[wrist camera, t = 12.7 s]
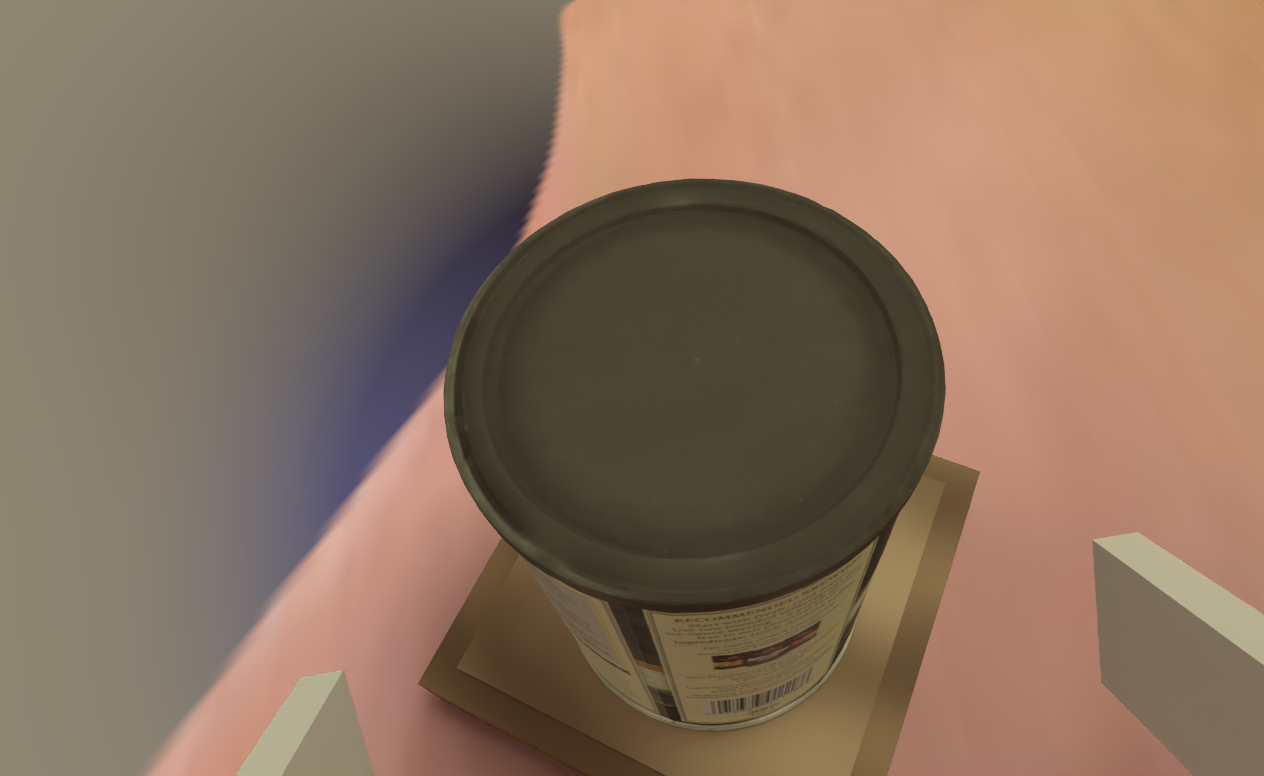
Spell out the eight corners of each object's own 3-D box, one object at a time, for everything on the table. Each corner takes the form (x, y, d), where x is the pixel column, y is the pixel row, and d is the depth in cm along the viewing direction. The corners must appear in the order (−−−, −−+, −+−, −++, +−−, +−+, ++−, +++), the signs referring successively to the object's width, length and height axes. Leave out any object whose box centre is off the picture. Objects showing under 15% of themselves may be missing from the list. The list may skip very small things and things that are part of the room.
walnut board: (620, 376, 37) (612, 342, 35) (964, 499, 32) (981, 469, 30) (440, 698, 31) (416, 683, 28) (836, 909, 26) (846, 910, 24)
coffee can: (706, 396, 33) (688, 112, 21) (922, 578, 28) (1057, 347, 16) (504, 574, 30) (348, 363, 18) (707, 808, 25) (680, 734, 13)
